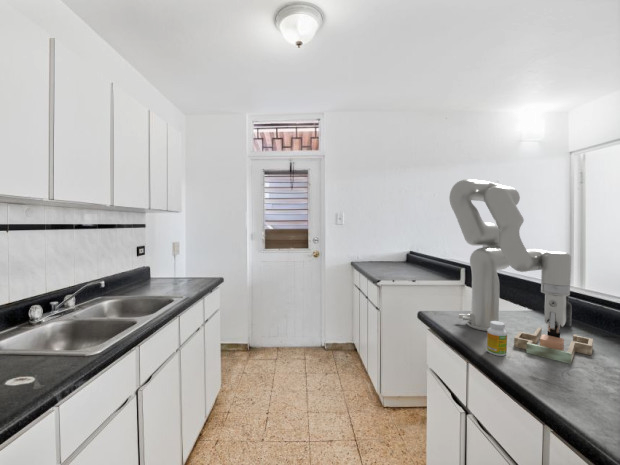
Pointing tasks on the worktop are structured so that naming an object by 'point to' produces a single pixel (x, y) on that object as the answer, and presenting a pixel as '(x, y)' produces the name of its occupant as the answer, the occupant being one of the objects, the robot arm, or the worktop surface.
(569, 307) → the supplement bottle
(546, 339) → the terracotta block
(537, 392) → the worktop surface
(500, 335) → the supplement bottle
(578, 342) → the trap lane
